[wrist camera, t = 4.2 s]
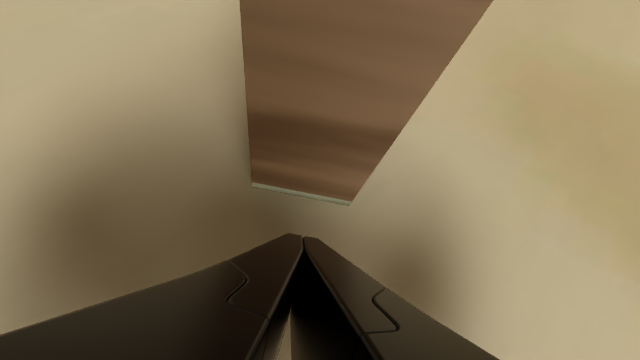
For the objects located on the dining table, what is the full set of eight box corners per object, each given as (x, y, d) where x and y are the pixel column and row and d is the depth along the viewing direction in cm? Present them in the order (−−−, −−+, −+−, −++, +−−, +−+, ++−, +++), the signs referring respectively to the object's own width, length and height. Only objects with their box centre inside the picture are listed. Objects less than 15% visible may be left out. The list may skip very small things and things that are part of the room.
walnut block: (348, 205, 18) (566, -105, 5) (252, 186, 17) (226, -202, 5) (358, 124, 20) (530, -240, 7) (272, 106, 19) (292, -316, 7)
